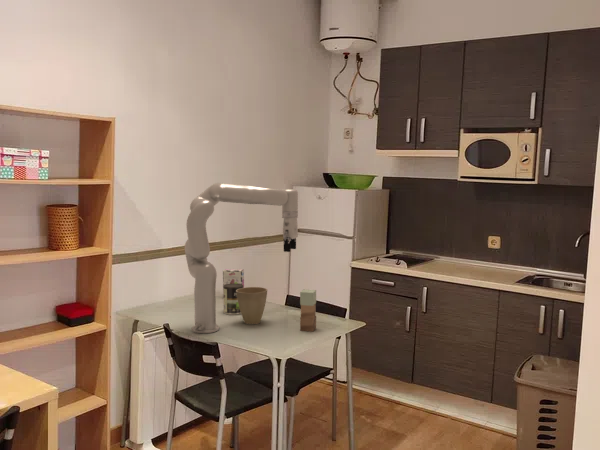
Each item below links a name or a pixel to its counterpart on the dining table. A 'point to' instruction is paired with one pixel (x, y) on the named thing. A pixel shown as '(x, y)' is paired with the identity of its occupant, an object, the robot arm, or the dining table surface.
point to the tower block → (308, 311)
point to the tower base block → (307, 324)
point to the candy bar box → (233, 277)
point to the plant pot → (252, 303)
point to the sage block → (308, 297)
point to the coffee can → (231, 299)
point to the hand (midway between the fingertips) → (289, 250)
